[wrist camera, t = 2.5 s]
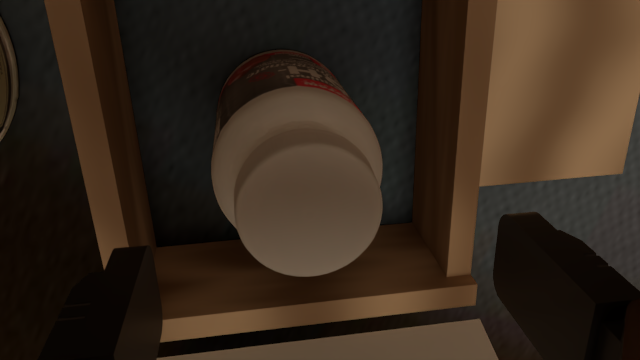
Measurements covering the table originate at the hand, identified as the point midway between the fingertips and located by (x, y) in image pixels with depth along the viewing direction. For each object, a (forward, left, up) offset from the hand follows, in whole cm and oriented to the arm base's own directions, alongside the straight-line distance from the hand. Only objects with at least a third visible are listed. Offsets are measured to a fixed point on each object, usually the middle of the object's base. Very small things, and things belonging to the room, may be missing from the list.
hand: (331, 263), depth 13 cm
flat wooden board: (+12, +1, -12) cm, 17 cm away
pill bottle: (0, 0, -12) cm, 12 cm away
